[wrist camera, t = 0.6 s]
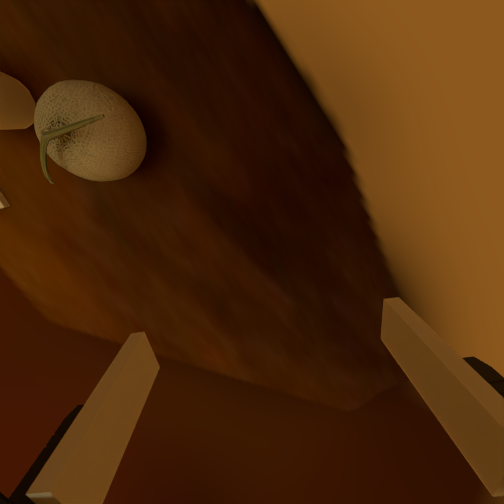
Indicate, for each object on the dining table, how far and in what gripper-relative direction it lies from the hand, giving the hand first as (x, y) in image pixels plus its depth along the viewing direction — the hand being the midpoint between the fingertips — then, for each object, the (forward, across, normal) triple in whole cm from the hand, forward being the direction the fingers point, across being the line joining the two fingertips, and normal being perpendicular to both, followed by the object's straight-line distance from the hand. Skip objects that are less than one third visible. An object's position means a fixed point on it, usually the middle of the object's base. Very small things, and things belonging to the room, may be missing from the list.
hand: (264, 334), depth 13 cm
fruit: (+27, -17, +14) cm, 35 cm away
